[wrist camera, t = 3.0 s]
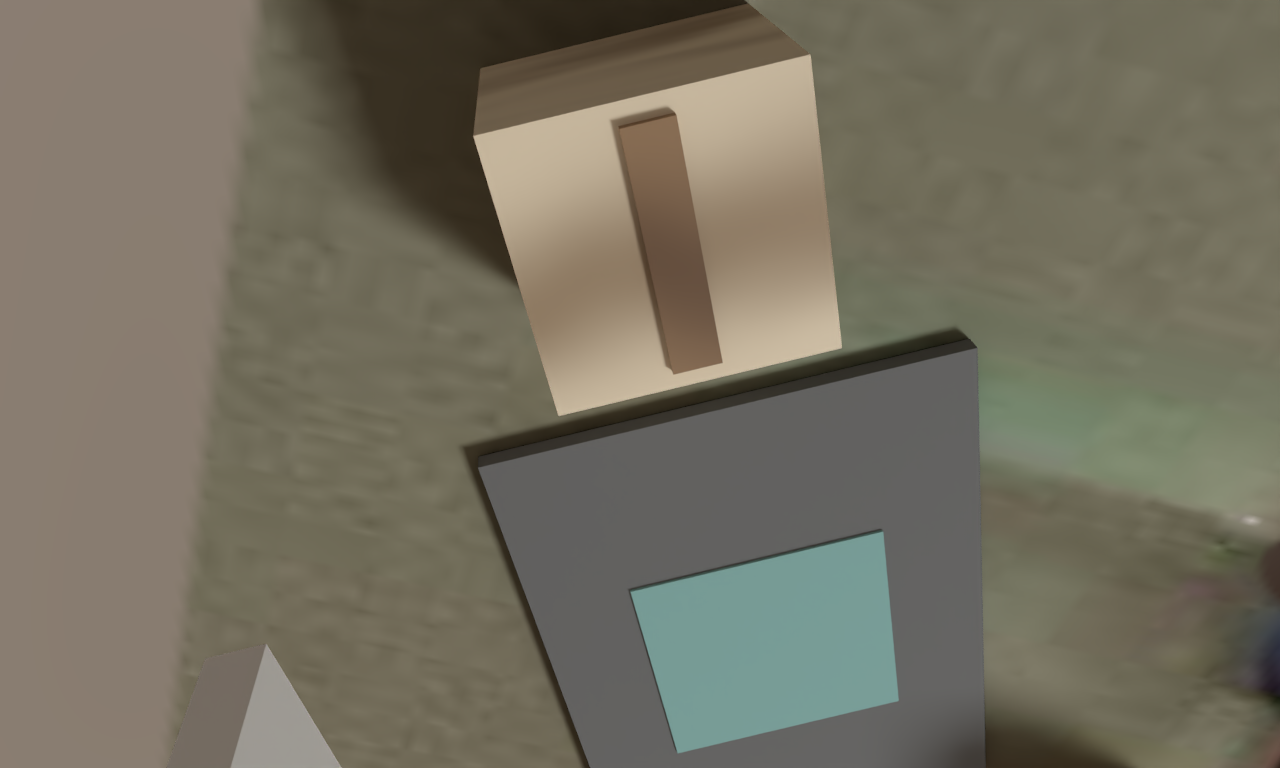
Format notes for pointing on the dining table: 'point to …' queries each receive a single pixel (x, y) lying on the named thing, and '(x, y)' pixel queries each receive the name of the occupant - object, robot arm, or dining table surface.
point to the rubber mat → (765, 572)
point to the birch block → (662, 204)
